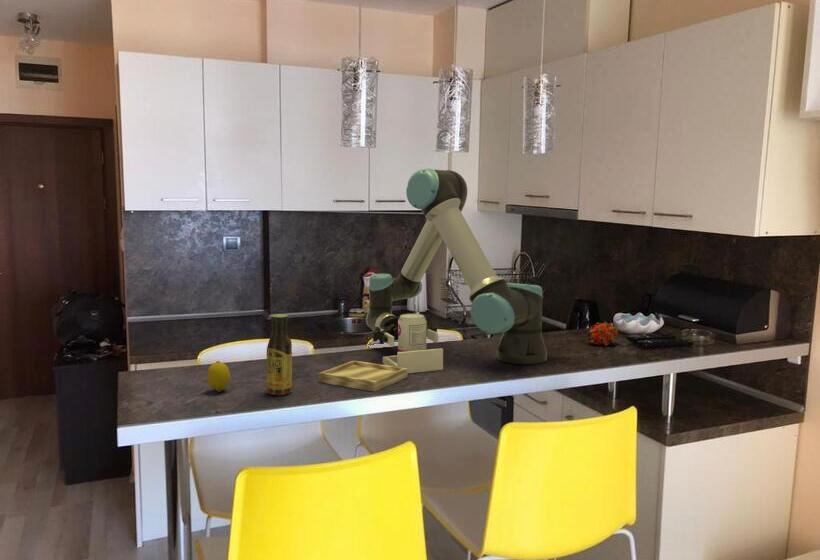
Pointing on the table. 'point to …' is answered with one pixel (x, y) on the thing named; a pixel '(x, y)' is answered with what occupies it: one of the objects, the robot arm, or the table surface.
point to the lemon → (218, 376)
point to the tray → (363, 375)
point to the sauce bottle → (279, 357)
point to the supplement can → (411, 332)
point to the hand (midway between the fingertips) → (415, 339)
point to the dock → (417, 360)
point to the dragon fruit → (603, 333)
